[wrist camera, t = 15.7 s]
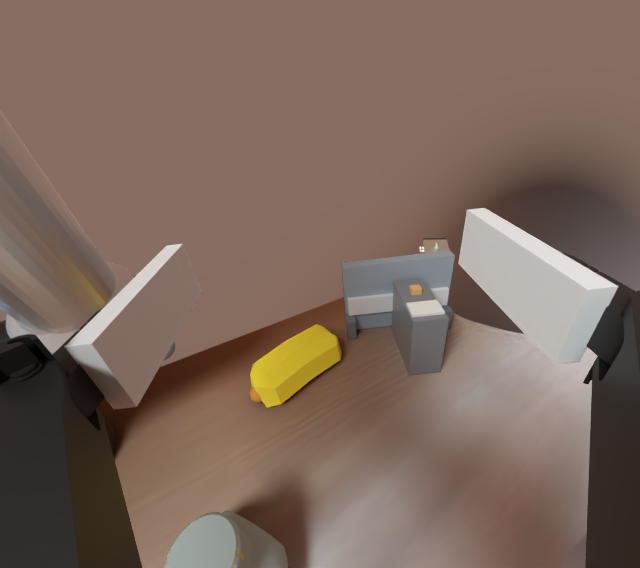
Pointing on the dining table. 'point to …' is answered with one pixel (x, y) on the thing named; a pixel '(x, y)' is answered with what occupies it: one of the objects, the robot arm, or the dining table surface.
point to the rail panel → (391, 286)
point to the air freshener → (225, 544)
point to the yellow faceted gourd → (293, 365)
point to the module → (418, 326)
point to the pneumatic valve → (433, 245)
